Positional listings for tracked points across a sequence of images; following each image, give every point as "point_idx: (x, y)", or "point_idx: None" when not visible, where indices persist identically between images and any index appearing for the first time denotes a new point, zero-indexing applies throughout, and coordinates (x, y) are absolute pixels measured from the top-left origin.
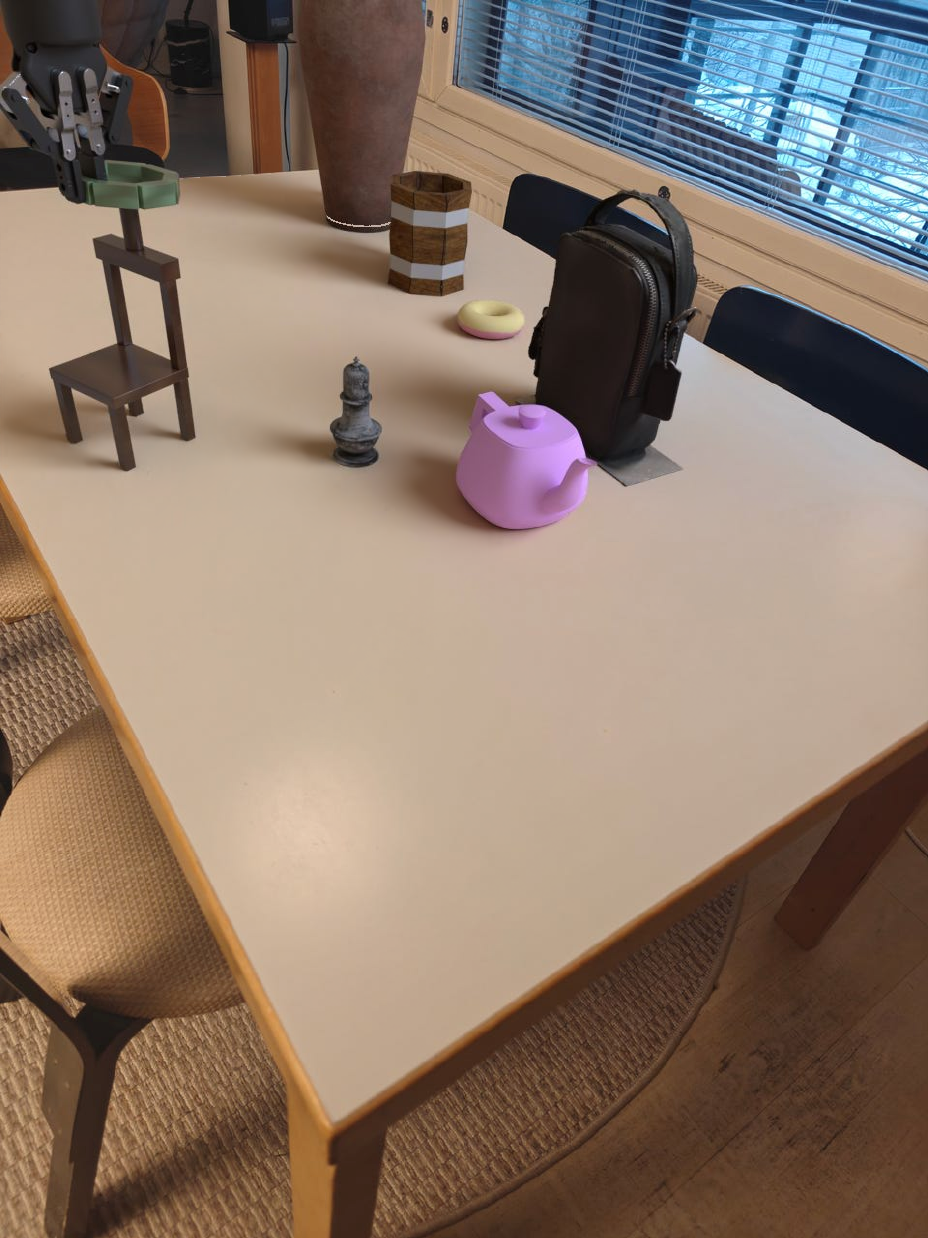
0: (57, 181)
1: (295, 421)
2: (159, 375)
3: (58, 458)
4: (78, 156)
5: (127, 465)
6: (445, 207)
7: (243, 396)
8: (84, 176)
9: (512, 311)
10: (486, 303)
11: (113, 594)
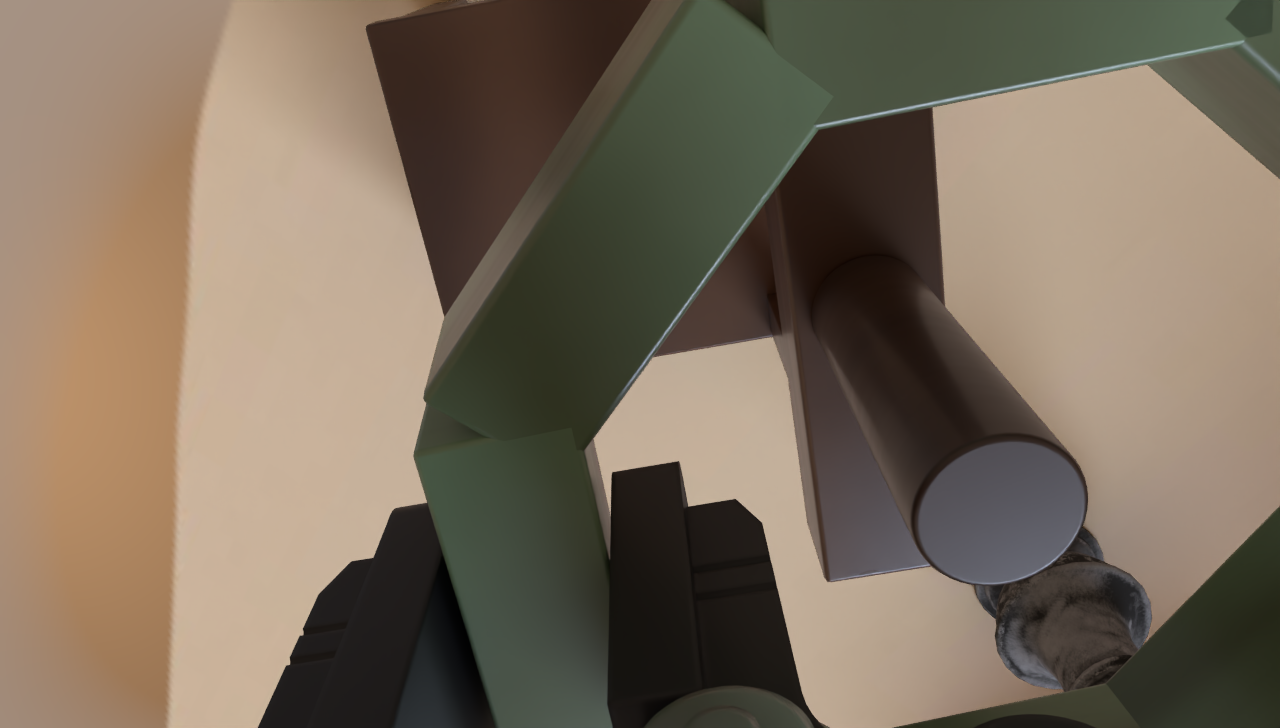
0: (298, 642)
1: (1068, 336)
2: (689, 331)
3: (362, 95)
4: (608, 672)
5: None
6: None
7: (1078, 91)
8: (599, 620)
9: None
10: None
11: (252, 674)
